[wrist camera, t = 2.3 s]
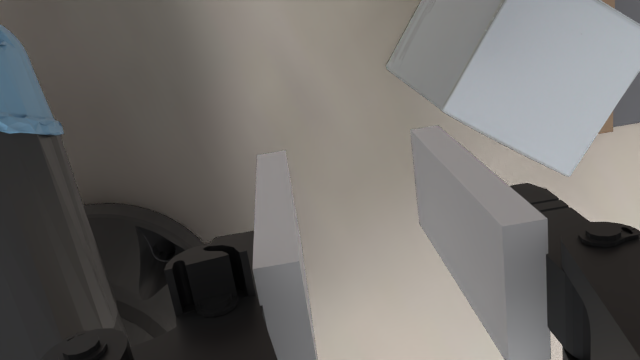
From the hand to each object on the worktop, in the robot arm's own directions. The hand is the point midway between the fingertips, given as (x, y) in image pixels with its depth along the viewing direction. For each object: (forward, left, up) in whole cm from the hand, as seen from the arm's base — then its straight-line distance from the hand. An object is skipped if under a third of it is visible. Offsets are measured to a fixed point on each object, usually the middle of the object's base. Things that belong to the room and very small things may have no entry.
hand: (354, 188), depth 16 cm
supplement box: (+10, 0, -23) cm, 25 cm away
